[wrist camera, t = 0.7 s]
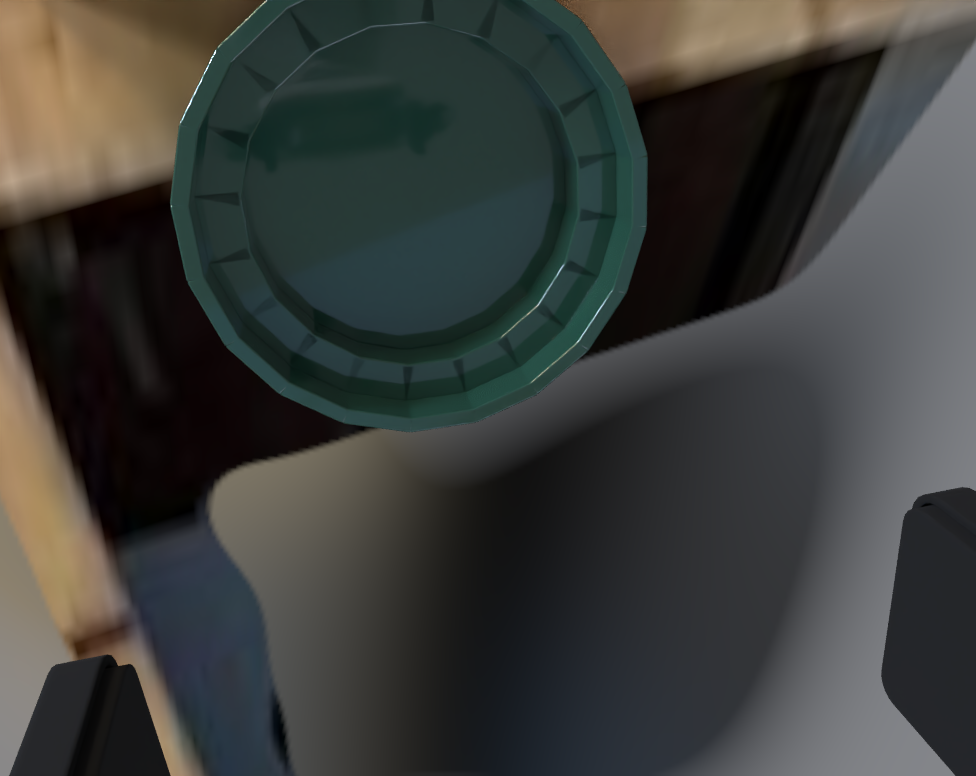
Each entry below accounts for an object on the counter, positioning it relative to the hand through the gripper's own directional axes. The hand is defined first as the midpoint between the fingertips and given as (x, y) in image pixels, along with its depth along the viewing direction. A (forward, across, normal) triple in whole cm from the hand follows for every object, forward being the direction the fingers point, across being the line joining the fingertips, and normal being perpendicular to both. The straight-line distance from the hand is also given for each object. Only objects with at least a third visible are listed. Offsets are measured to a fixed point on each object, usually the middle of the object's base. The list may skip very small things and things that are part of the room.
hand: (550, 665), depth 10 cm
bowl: (+25, -1, -1) cm, 25 cm away
